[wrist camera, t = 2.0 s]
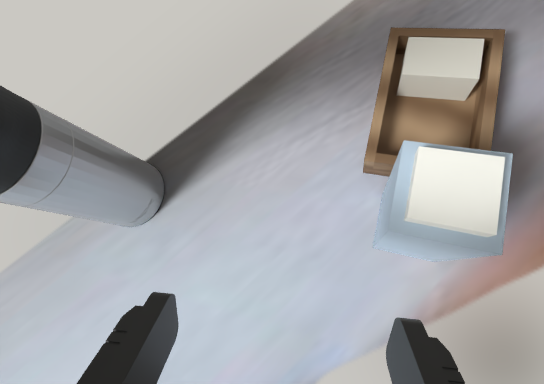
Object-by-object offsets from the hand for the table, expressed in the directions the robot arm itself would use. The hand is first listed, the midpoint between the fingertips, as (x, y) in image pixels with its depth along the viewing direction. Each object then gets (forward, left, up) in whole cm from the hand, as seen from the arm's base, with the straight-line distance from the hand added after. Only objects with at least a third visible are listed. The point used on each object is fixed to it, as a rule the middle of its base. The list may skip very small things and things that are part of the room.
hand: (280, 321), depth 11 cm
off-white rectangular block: (-7, +25, -22) cm, 34 cm away
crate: (-5, +22, -23) cm, 32 cm away
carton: (+2, +10, -23) cm, 25 cm away
